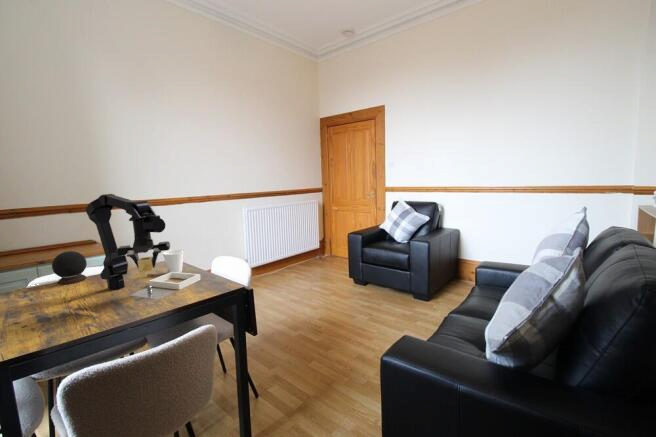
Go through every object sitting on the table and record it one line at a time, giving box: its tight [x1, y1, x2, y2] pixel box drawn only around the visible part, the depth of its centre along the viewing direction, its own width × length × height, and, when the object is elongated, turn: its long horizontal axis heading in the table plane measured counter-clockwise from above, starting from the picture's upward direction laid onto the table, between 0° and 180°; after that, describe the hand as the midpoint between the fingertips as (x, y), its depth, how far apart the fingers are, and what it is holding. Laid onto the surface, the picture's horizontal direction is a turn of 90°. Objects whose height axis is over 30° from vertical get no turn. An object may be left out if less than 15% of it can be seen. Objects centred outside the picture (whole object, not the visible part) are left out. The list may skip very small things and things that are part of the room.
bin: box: [148, 272, 201, 290], centre depth 144 cm, size 17×13×4 cm
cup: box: [162, 249, 184, 273], centre depth 162 cm, size 10×10×11 cm
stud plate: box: [129, 285, 175, 300], centre depth 132 cm, size 16×9×4 cm, turn 71°
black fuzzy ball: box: [51, 250, 88, 286], centre depth 154 cm, size 13×13×15 cm
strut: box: [137, 256, 156, 278], centre depth 128 cm, size 12×5×5 cm, turn 21°
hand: (146, 268), depth 131 cm, fingers closed on strut, 5 cm apart
